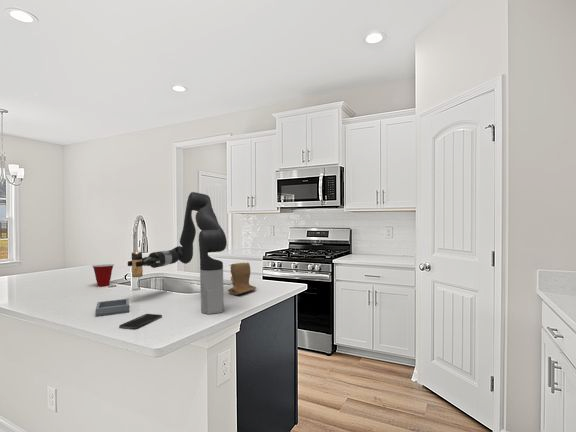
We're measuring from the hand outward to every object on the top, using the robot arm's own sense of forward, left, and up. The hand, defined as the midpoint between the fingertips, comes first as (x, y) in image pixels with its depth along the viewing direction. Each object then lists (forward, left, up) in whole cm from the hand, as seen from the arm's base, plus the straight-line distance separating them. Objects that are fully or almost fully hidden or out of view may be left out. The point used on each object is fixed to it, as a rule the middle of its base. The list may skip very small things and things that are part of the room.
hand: (132, 264), depth 156 cm
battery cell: (+2, -2, -6) cm, 7 cm away
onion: (+16, -54, -18) cm, 59 cm away
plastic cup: (+49, +14, -18) cm, 54 cm away
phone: (-31, -2, -18) cm, 36 cm away
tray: (-9, +8, -18) cm, 21 cm away
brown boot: (-4, -49, -18) cm, 52 cm away
